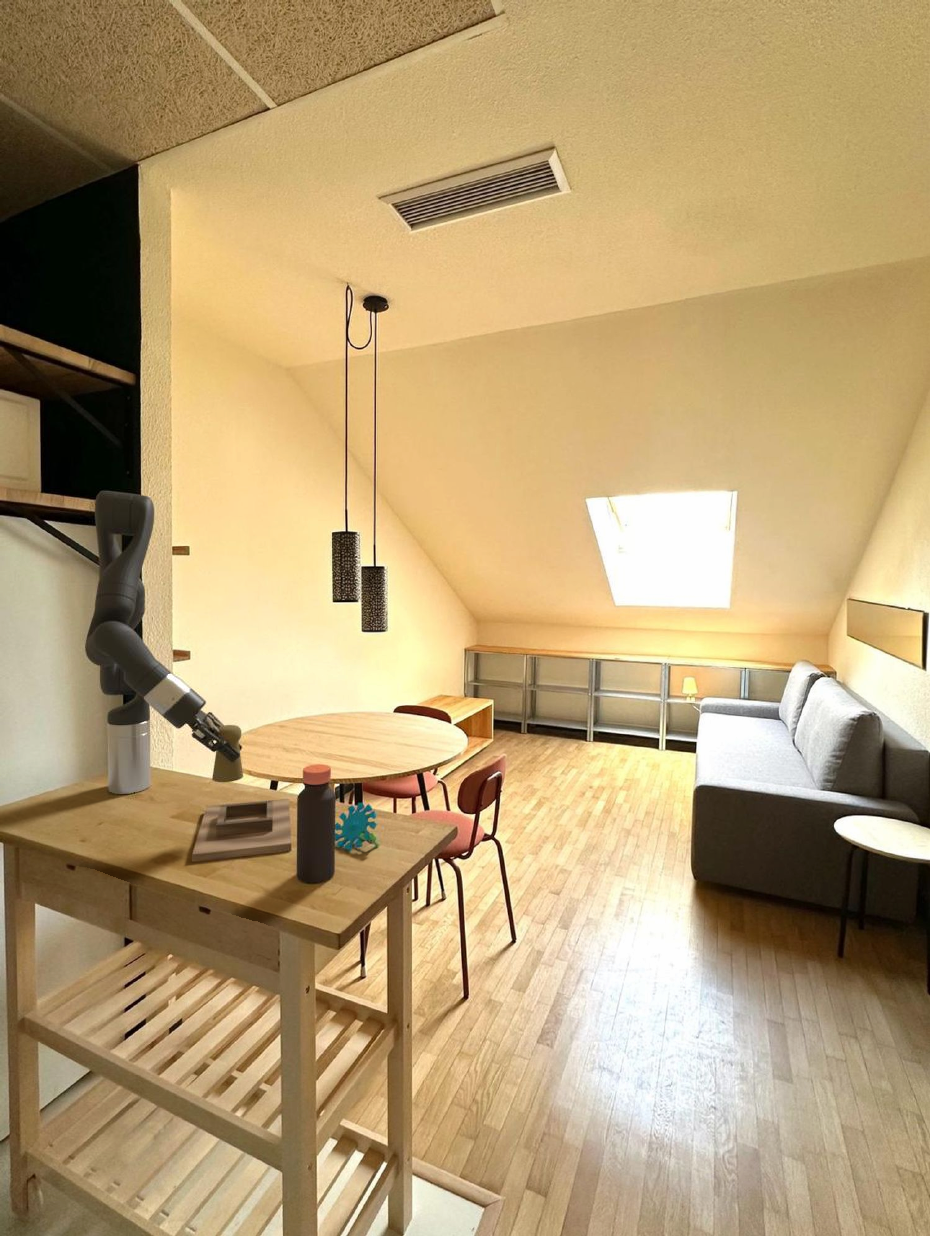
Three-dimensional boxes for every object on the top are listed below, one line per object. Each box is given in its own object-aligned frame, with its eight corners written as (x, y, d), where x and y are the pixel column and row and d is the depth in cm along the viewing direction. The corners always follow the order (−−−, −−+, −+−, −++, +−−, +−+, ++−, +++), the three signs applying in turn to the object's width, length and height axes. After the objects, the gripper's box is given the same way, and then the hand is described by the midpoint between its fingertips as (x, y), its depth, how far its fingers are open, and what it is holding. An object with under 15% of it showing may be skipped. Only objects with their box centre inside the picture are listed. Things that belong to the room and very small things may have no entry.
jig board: (206, 812, 131) (206, 795, 130) (288, 804, 136) (288, 788, 136) (192, 862, 108) (192, 841, 108) (291, 850, 114) (291, 831, 114)
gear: (322, 833, 118) (354, 793, 122) (338, 845, 122) (369, 806, 126) (352, 859, 111) (385, 816, 114) (368, 872, 114) (399, 829, 118)
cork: (231, 771, 124) (231, 721, 124) (249, 776, 121) (249, 725, 121) (206, 778, 119) (206, 726, 119) (223, 784, 116) (224, 731, 115)
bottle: (290, 872, 105) (291, 766, 104) (325, 862, 109) (326, 760, 108) (305, 889, 100) (306, 777, 99) (340, 877, 104) (342, 770, 103)
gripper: (183, 693, 110) (249, 751, 114) (194, 681, 124) (253, 733, 128) (152, 722, 109) (220, 779, 113) (167, 706, 122) (228, 757, 127)
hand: (237, 754), depth 121 cm, fingers closed on cork, 4 cm apart
